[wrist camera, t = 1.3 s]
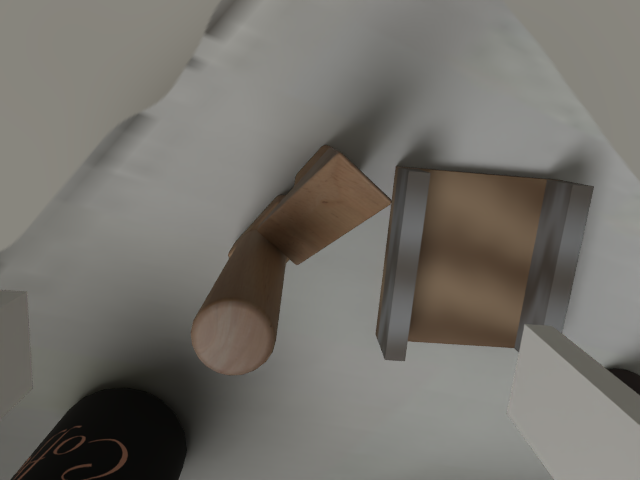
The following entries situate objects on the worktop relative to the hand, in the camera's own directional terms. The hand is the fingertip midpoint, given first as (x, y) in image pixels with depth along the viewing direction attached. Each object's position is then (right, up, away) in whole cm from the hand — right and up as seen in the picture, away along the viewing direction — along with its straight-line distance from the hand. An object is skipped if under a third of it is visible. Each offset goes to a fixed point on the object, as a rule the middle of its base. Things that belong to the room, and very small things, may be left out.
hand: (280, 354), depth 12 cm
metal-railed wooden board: (+13, +1, +25) cm, 28 cm away
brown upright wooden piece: (-1, +5, +24) cm, 25 cm away
